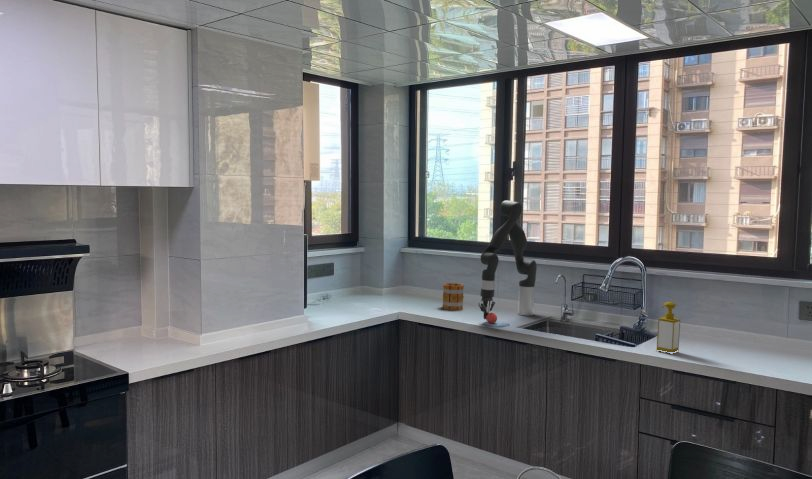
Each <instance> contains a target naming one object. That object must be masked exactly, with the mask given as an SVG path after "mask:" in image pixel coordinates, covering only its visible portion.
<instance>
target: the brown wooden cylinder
mask: <svg viewBox="0 0 812 479" xmlns="http://www.w3.org/2000/svg"><path fill="white" fill-rule="evenodd" d="M442 286H443V289H442V307H441V308H442V309H443V310H446V311H463V310H464V308H463V306H464V304H463V303H464V286H465V285H464V284H463V283H456V282H455V283H453V282H452V283H450V282H447V283H443V284H442ZM462 309H463V310H462Z"/></svg>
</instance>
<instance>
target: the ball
mask: <svg viewBox="0 0 812 479" xmlns="http://www.w3.org/2000/svg"><path fill="white" fill-rule="evenodd" d="M485 320H486V322H488V323H495V322H496V321H498V315H497V314H496V313H494V312H489V314H488V315H487V316H486V319H485Z"/></svg>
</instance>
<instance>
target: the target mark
mask: <svg viewBox="0 0 812 479" xmlns="http://www.w3.org/2000/svg"><path fill="white" fill-rule="evenodd" d="M483 324H484V325H485V326H489V327H498V328H503V327H505V328H506V327H509V326H510V323H509V322H504V321H499V320H497V321H496V322H495V323H488V322H487V321H484V322H483Z"/></svg>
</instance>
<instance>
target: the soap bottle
mask: <svg viewBox="0 0 812 479" xmlns="http://www.w3.org/2000/svg"><path fill="white" fill-rule="evenodd" d="M676 306H677V303H675V302H672V301H667V302H664V304H663V306H661V308H662V309H663V308H666V309H667V312H665V316H662V317H659V318H657V319H658V321H657V322H658V323H657V338H656V339H657V340H656V351H657V350H662V351H667V352H675V351H677V350H678V351H679V350H680V349H679V347H680V334H681V333H680V331H681V330H680V329H681V318H675V313H673V309H675V308H676Z"/></svg>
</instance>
